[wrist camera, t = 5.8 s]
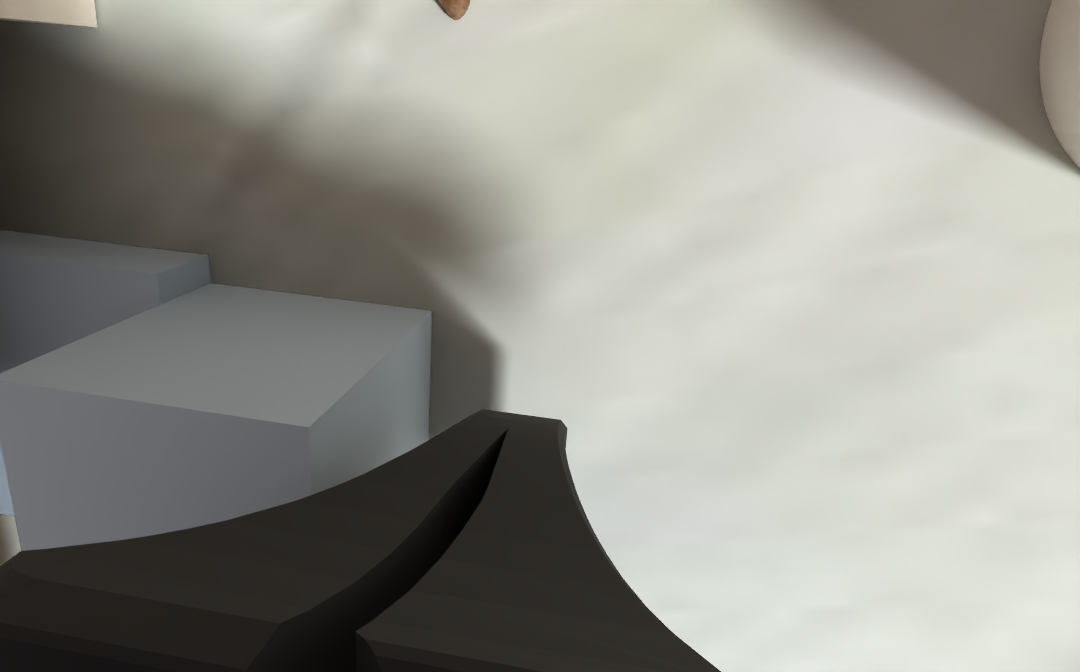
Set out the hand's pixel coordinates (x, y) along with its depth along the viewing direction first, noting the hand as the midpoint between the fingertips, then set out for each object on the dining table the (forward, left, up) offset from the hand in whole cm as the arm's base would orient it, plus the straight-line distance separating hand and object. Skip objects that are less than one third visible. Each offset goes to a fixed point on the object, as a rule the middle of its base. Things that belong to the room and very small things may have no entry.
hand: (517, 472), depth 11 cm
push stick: (0, +10, -2) cm, 10 cm away
